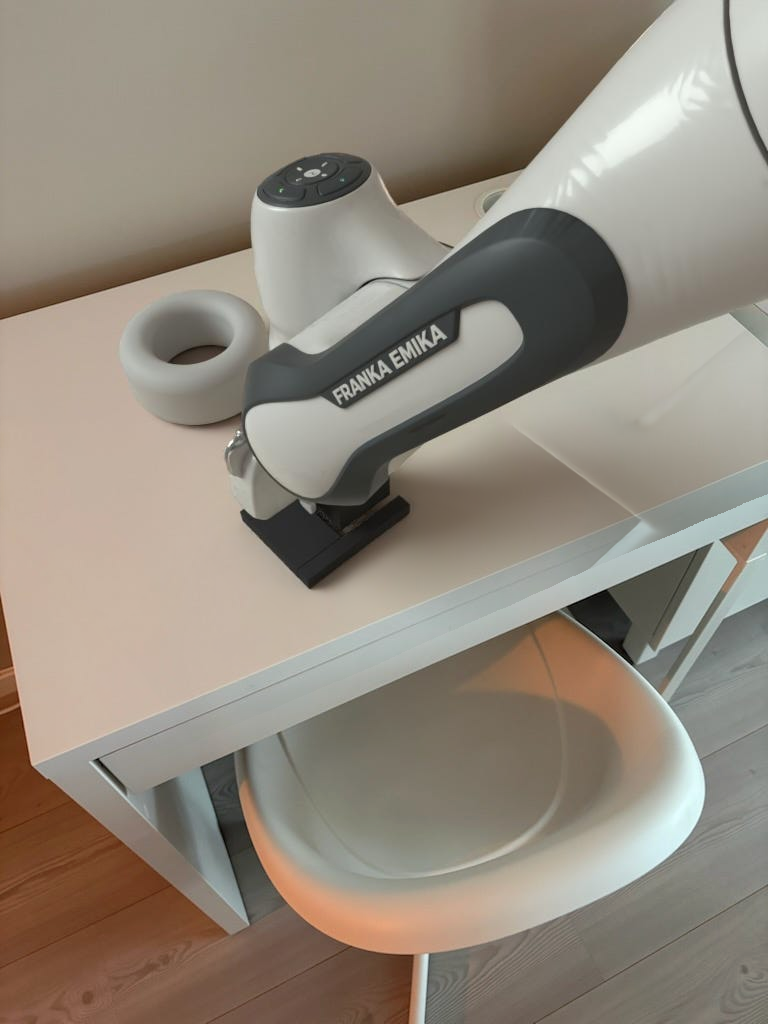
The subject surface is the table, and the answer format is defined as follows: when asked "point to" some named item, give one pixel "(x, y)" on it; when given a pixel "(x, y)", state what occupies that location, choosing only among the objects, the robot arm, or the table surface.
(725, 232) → the robot arm
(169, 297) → the thick torus
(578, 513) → the table surface
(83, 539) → the table surface
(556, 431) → the table surface
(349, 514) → the black block
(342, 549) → the base pad
